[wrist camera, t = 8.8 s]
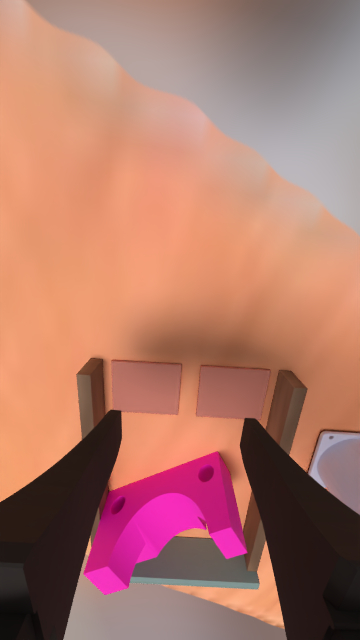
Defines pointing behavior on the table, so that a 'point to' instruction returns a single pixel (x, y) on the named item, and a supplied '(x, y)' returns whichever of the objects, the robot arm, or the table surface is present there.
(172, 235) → the table surface
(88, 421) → the lane rails
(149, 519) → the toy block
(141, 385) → the trap squares
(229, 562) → the end stop
